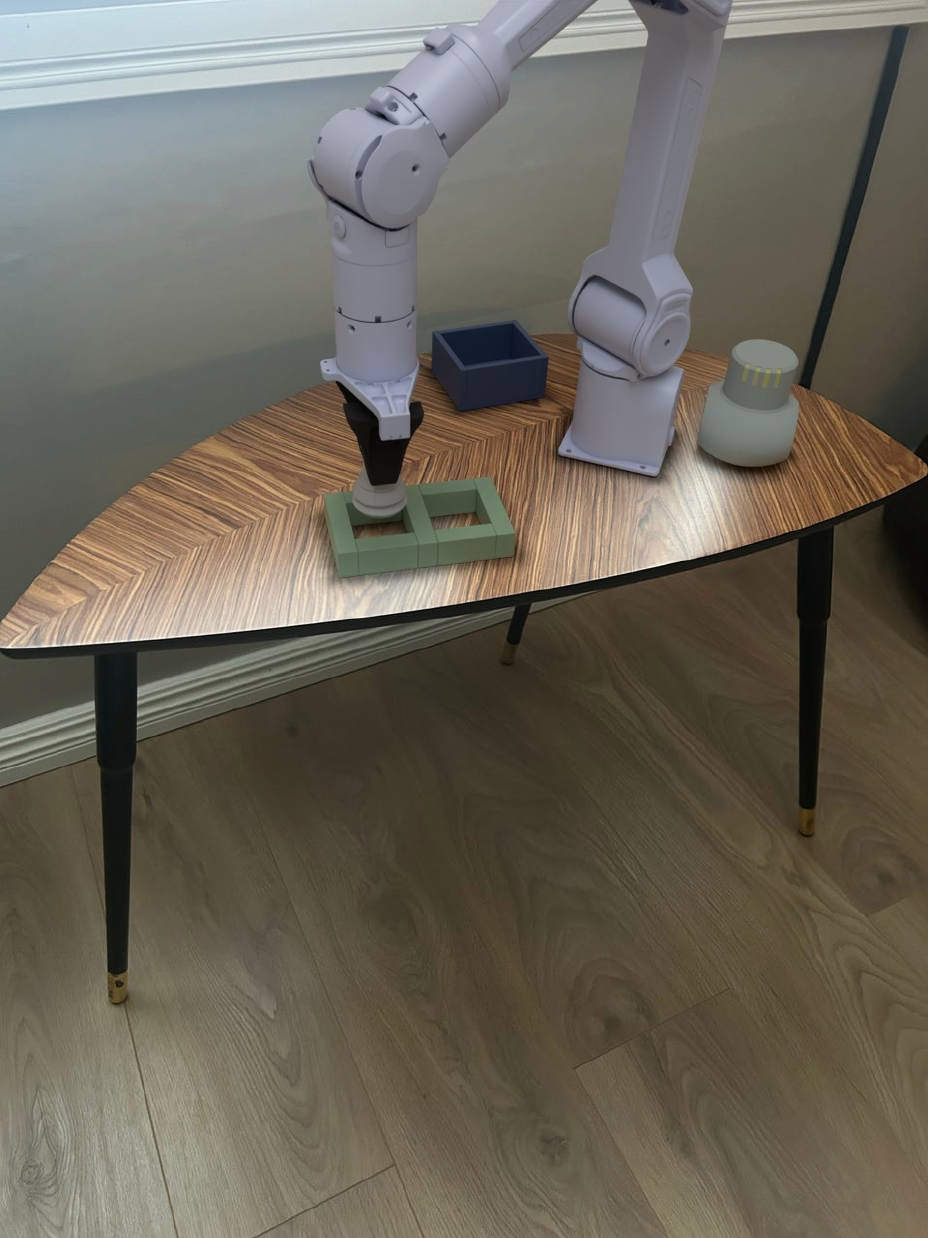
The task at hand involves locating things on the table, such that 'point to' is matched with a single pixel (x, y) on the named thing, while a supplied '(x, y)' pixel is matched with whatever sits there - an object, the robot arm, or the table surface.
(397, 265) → the robot arm
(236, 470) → the table surface
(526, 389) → the bin
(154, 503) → the table surface
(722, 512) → the table surface
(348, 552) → the frame
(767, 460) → the air freshener
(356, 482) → the rook chess piece
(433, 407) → the table surface
